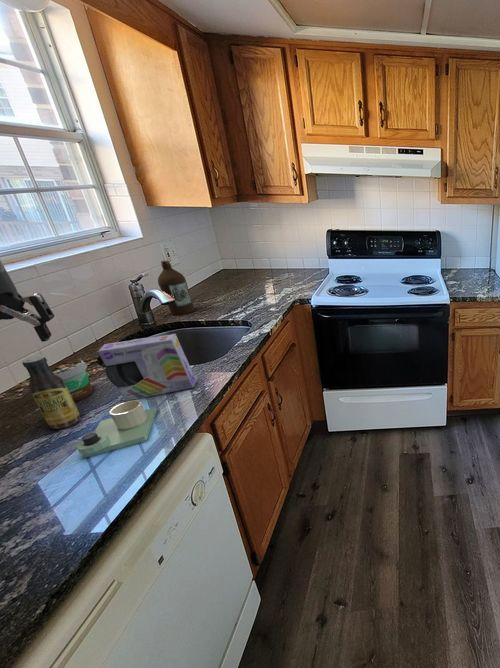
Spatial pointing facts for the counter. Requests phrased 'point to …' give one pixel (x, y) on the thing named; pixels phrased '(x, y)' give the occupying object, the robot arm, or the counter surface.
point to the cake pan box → (147, 366)
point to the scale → (117, 435)
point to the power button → (90, 439)
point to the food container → (75, 380)
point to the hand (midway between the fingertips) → (20, 344)
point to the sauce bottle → (51, 394)
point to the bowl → (128, 414)
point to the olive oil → (175, 289)
